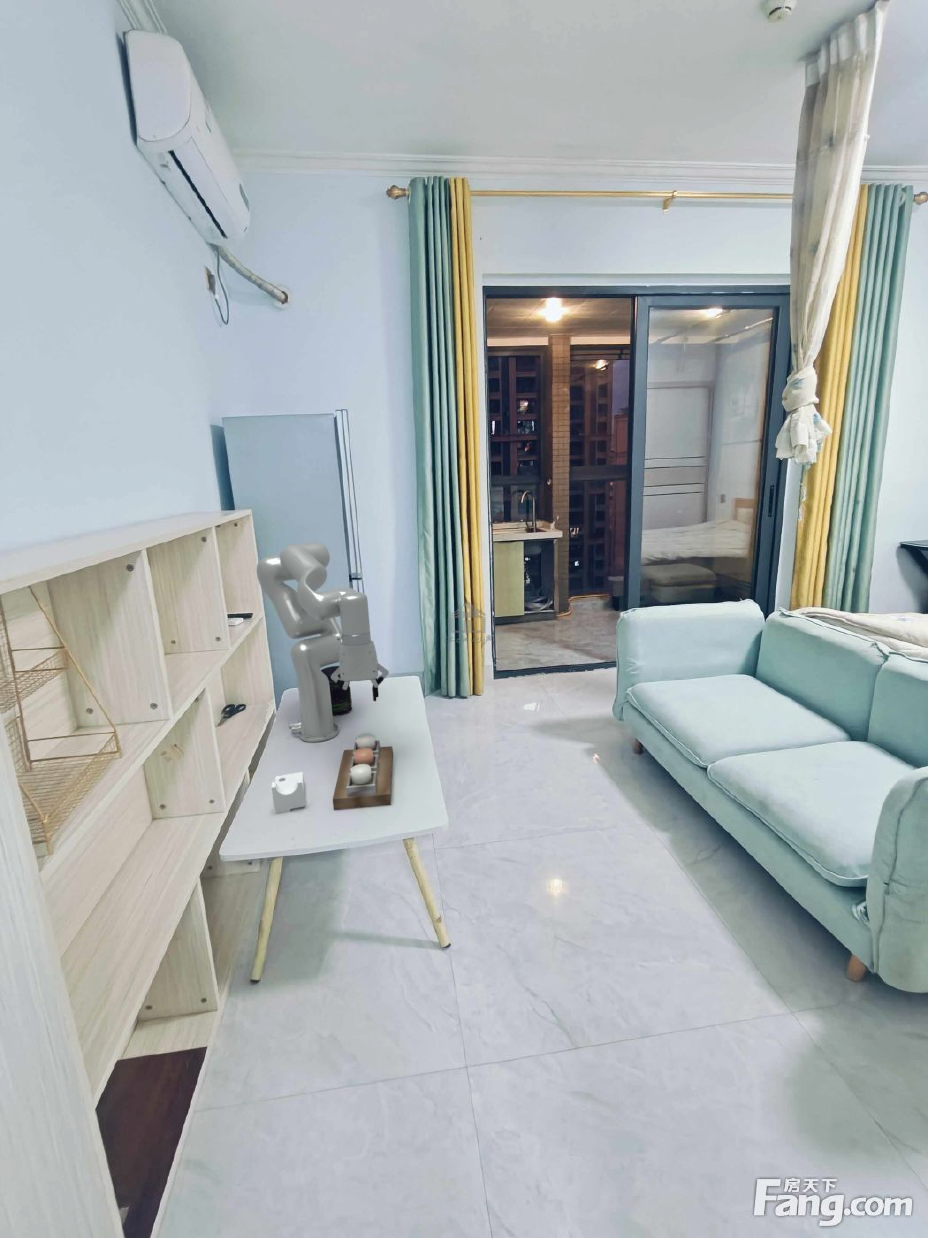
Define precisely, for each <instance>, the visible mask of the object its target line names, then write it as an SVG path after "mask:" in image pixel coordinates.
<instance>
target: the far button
mask: <svg viewBox="0 0 928 1238" xmlns="http://www.w3.org/2000/svg"><path fill="white" fill-rule="evenodd" d="M375 740H376V737H375V735H374V734H373V733H370V732H369V733H366V732H365V733H361V734H359V735H357V737H356V742H357V748H358V749H360V748H370V749H374V748H375Z"/></svg>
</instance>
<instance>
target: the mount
mask: <svg viewBox="0 0 928 1238" xmlns="http://www.w3.org/2000/svg"><path fill="white" fill-rule="evenodd" d="M380 741H381V740H380V739H377V740H376V739H375V748H374V749H372V750H373V759H374V762H373V764H371V765H370V767H371V776H372V780H371V781H370V782H369V783H367V784H363V785H356V784H353V783H352V779H351V768H352V767H354V766H355V761H354V752H355V751H356V750H357V749H358V748H357V741H355V742H354V746H353V749H352V748H351V749H344V750H343V752H342V756H341V760H340V765H339V770H338V773H337V774H338V775H337V778H336V783H335V786H334V787H335V788H334V792H333V796H332V805H333V811H338V810H348V809H349V810H350V809H360V808H371V807H381V806H391V805H392V787H393V784H392V783H393V782H392V781H393V765H394V764H393V762H394V751H393V746H392V745H390V746H389V745H388V746H381V742H380Z"/></svg>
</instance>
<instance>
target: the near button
mask: <svg viewBox="0 0 928 1238" xmlns="http://www.w3.org/2000/svg"><path fill="white" fill-rule="evenodd" d="M351 779H352V783H353V784H356V785H363V784H367V783H369V782H370V781H371V780H372V776H371V767H370V766H369V765H367V764H359V765H355V766H354V767H352V768H351Z"/></svg>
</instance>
